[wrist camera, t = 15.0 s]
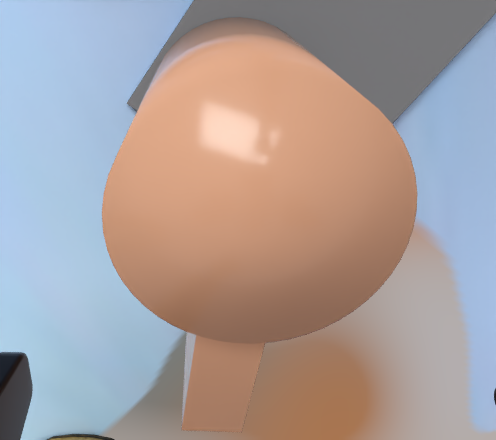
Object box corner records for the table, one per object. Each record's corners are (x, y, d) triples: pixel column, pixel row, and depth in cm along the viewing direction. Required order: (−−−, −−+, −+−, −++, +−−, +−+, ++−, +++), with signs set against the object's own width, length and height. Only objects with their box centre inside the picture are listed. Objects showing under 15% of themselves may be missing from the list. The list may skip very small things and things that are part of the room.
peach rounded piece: (155, 1, 15) (104, 38, 7) (342, 34, 16) (468, 98, 9) (138, 274, 21) (98, 458, 13) (277, 286, 22) (317, 462, 14)
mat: (365, -262, 13) (369, -268, 12) (536, -37, 16) (542, -37, 16) (127, 101, 17) (126, 103, 17) (299, 218, 20) (300, 221, 20)
